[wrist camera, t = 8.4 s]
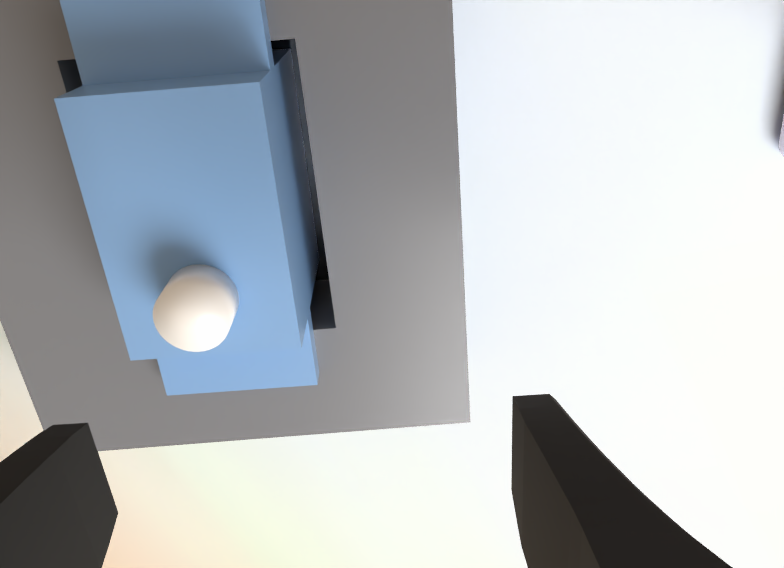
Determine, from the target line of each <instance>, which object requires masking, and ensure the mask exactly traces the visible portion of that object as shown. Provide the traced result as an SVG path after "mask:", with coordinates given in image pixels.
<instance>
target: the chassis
mask: <svg viewBox="0 0 784 568" xmlns="http://www.w3.org/2000/svg"><path fill="white" fill-rule="evenodd" d="M265 6H266V13H267V20H268V27H269V34H270V40H271V41H274V40H285V39H295V42H296V49H297V56H298V63H299V70H300V77H301V84H302V91H303V98H304V106H305V113H306V120H307V127H308V134H309V141H310V148H311V155H312V162H313V169H314V176H315V183H316V190H317V197H318V204H319V211H320V218H321V225H322V233H323V240H324V247H325V254H326V261H327V268H328V275H329V279H328V280H316V281H315V284H314V289H313V294H312V299H311V304H310V312H311V319H312V325H313V332H314V339H315V346H316V352H317V359H318V366H319V378H318V385H309V386H295V387H281V388H267V389H253V390H239V391H225V392H211V393H197V394H182V395H168V396H167V394H166V390H165V387H164V383H163V379H162V376H161V372H160V368H159V365H158V361H157V359H145V360H132V361H131V360H130V357H129V354H128V350H127V347H126V343H125V340H124V336H123V333H122V330H121V326H120V323H119V319H118V316H117V312H116V309H115V306H114V302H113V299H112V295H111V292H110V289H109V285H108V282H107V278H106V275H105V271H104V268H103V265H102V261H101V258H100V254H99V251H98V248H97V244H96V241H95V237H94V234H93V230H92V227H91V224H90V220H89V217H88V213H87V210H86V207H85V203H84V200H83V196H82V193H81V189H80V186H79V183H78V179H77V176H76V172H75V169H74V166H73V162H72V159H71V155H70V152H69V148H68V145H67V142H66V138H65V135H64V131H63V128H62V125H61V121H60V118H59V114H58V111H57V107H56V104H55V101H54V98H56V97H59V96H61V95H63V94H65V93H68V92H70V91H72V90H74V89H76V88H79V87H81V86H83V85H82V81H81V78H80V74H79V70H78V67H77V63H76V59H75V56H74V52H73V48H72V44H71V41H70V37H69V33H68V30H67V26H66V22H65V19H64V15H63V11H62V8H61V4H60V0H0V321H1V323H2V326H3V328H4V331H5V333H6V336H7V338H8V341H9V343H10V346H11V349H12V351H13V354H14V356H15V359H16V361H17V364H18V366H19V369H20V371H21V374H22V376H23V379H24V382H25V384H26V387H27V389H28V392H29V394H30V397H31V399H32V402H33V404H34V407H35V410H36V412H37V415H38V417H39V420H40V422H41V425H42V427H43V430H46V429H47V428H49V427H50V426H52V425H58V424H75V423H88V424H89V427H90V430H91V433H92V436H93V439H94V442H95V445H96V448H97V451H105V450H118V449H131V448H144V447H157V446H170V445H183V444H195V443H208V442H221V441H234V440H247V439H260V438H273V437H285V436H298V435H311V434H324V433H337V432H350V431H363V430H375V429H388V428H401V427H414V426H427V425H440V424H452V423H465V422H470V406H469V383H468V360H467V337H466V313H465V290H464V267H463V244H462V221H461V198H460V175H459V152H458V128H457V105H456V82H455V59H454V36H453V13H452V0H265Z"/></svg>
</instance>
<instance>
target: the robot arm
mask: <svg viewBox="0 0 784 568" xmlns="http://www.w3.org/2000/svg"><path fill="white" fill-rule="evenodd" d="M779 150H780V152H781V154H782V155H783V156H784V116H783V122H782V128H781V133H780V139H779ZM512 495H513V501H514V506H515V512H516V518H517V524H518V529H519V534H520V540H521V545H522V549H523V552H524V556H525V559H526V563H527V566H528V568H732V567H731V566H729V565H728V564H727V563H725V562H724V561H723V560H722V559H720V558H719V557H718V556H716V555H715V554H714V553H712V552H711V551H710V550H709V549H707V548H706V547H705V546H703V545H702V544H701V543H700V542H698V541H697V540H696V539H694V538H693V537H692V536H691V535H690V534H688V533H687V532H686V531H685V530H684V529H682V528H681V527H680V526H679V525H678V524H677V523H675V522H674V521H673V520H672V519H671V518H670V517H669V516H667V515H666V514H665V513H664V512H663V511H662V510H661V509H660V508H659V507H657V506H656V505H655V504H654V503H653V502H652V501H651V500H650V499H649V498H648V497H646V496H645V495H644V494H643V493H642V492H641V491H640V490H639V489H638V488H637V487H636V486H635V485H634V484H633V483H632V482H631V481H630V480H629V479H628V478H627V477H626V476H625V475H624V474H623V473H622V472H621V471H620V470H619V469H618V468H617V467H616V466H615V465H614V464H613V463H612V462H611V461H610V460H609V459H608V458H607V457H606V456H605V455H604V454H603V453H602V452H601V451H600V450H599V449H598V447H597V446H596V445H595V444H594V443H593V442H592V441H591V440H590V439H589V438H588V436H587V435H586V434H585V433H584V432H583V431H582V430H581V429H580V428H579V426H578V425H577V424H576V423H575V422H574V421H573V420H572V418H571V417H570V416H569V415H568V414H567V413H566V411H565V410H564V409H563V408H562V407H561V405H560V404H559V403H558V402H557V401H556V400H555V399H554V398H553V397H552V396H551V395H550V394H542V395H526V396H513V415H512ZM117 515H118V511H117V508H116V505H115V502H114V499H113V496H112V493H111V490H110V487H109V484H108V481H107V478H106V475H105V472H104V469H103V466H102V463H101V460H100V457H99V454H98V451H97V448H96V445H95V442H94V439H93V436H92V433H91V430H90V427H89V424H88V423H75V424H58V425H52V426H50V427H49V428H47V429H46V430H44V431H43V432H41V433H40V434H38V435H37V436H35V437H34V438H32V439H31V440H30V441H28V442H27V443H26V444H24V445H23V446H22V447H20V448H19V449H17V450H16V451H15V452H13V453H12V454H11V455H9V456H8V457H7V458H5V459H4V460H3V461H2V462H0V568H102V565H103V562H104V558H105V555H106V552H107V549H108V546H109V543H110V539H111V536H112V532H113V529H114V525H115V522H116V518H117Z"/></svg>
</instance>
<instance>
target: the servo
mask: <svg viewBox="0 0 784 568" xmlns="http://www.w3.org/2000/svg"><path fill="white" fill-rule="evenodd" d="M60 4H61V8H62V11H63V15H64V19H65V22H66V26H67V30H68V33H69V37H70V41H71V44H72V48H73V52H74V56H75V59H76V63H77V67H78V70H79V74H80V78H81V81H82V85H83V86H81V87H79V88H76V89H74V90H72V91H70V92H68V93H65V94H63V95H61V96H59V97H56V98H54V101H55V104H56V107H57V111H58V114H59V118H60V121H61V125H62V128H63V131H64V135H65V138H66V142H67V145H68V148H69V152H70V155H71V159H72V162H73V166H74V169H75V172H76V176H77V179H78V183H79V186H80V189H81V193H82V196H83V200H84V203H85V207H86V210H87V213H88V217H89V220H90V224H91V227H92V230H93V234H94V237H95V241H96V244H97V248H98V251H99V254H100V258H101V261H102V265H103V268H104V271H105V275H106V278H107V282H108V285H109V289H110V292H111V295H112V299H113V302H114V306H115V309H116V312H117V316H118V319H119V323H120V326H121V330H122V333H123V336H124V340H125V343H126V347H127V350H128V354H129V357H130V360H131V361H132V360H145V359H157V361H158V365H159V368H160V372H161V376H162V379H163V383H164V387H165V390H166V394H167V396H168V395H182V394H197V393H211V392H225V391H239V390H253V389H267V388H281V387H295V386H309V385H318V378H319V366H318V359H317V352H316V346H315V339H314V332H313V325H312V319H311V312H310V304H311V299H312V294H313V289H314V284H315V279H316V274H317V269H318V264H319V252H318V245H317V238H316V230H315V223H314V216H313V208H312V201H311V193H310V186H309V179H308V171H307V164H306V156H305V149H304V142H303V134H302V127H301V119H300V112H299V105H298V97H297V90H296V83H295V75H294V68H293V60H292V53H291V48H289V49H277V50H272V47H271V40H270V34H269V27H268V20H267V13H266V6H265V0H60Z"/></svg>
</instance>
